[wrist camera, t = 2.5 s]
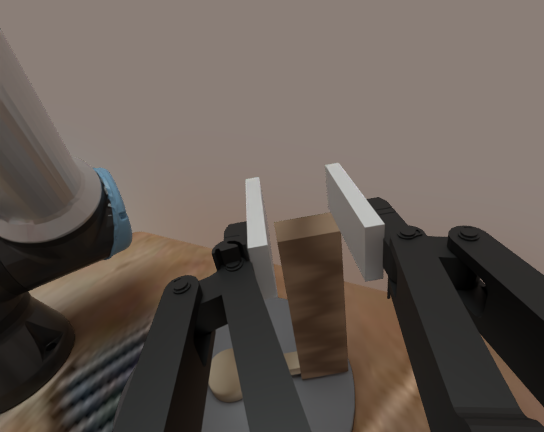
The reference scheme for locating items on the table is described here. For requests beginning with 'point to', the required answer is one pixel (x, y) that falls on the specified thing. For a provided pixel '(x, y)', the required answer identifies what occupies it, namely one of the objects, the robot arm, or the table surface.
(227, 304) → the robot arm
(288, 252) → the brown bar with rod
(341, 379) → the dial plate
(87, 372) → the table surface
